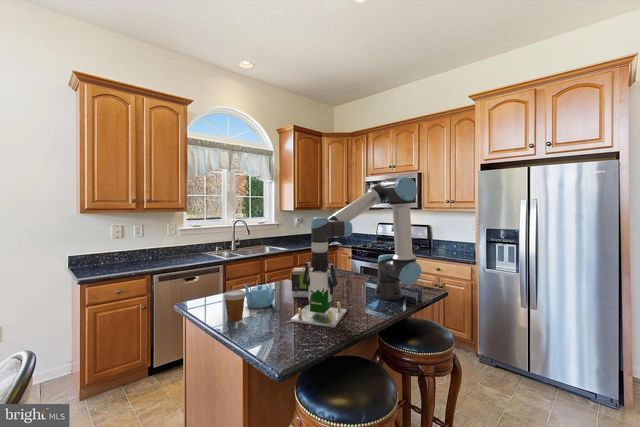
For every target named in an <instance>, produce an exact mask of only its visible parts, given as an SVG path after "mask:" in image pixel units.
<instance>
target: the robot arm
mask: <svg viewBox="0 0 640 427" xmlns="http://www.w3.org/2000/svg"><path fill="white" fill-rule="evenodd" d="M417 193H418V187H417V184H416V183H415V181H414V180H413V179H412V178H410V177H408V176H399V177H389V178H385V179H383V180H381V181H379V182H378V183H377V184H375V185H373V186H371V187H370V188H369V189H367V192H366V193H365V194H363V195H361V196H360V197H359V198H357V199H355V200H353V201H352V202H350V203H349V204H347V205H346V206H345V207H343V208H341V209H340V210H339V211H336V213H334V214H332V215H330V216H329V217H327V216H313V217H312V218H311V223H310V224H311V225H310V229H311V234H310V235H311V244H310V245H311V262H309V261H308V262H305V263H304V268H305V273H304V278H303V284H305V285H306V286H307V292H308V297H307V298H308V301H309V300H310V277H309V279H308V274H309V268H313V270H312V272H315V271H317V272H319V271H322V272H325V273H326V272H327V271H328V270H330V277H328V284H329V288H328V302H330V303H331V302H332V295H333V294H334V288H335V287H337V286H338V280H337V274H336V270H335V266H336V264H335V263H330V262H329V252H328V250H329V238H348V237H350V236H352V234H353V224H352V222H351V221H353V220H354V219H356V218H357V217H359V216H361V215H363V213H364V212H366V211H367V210H369V209H371V208H372V207H374V206H375V205H376V206H378V205H380V204H382V203H384V202H388V205H389V206H390V207H391V208H392V221H393V239H394V240H393V241H394V254H392V253H391V254H381V255H379V256H378V258H377V283H376V286H375V289H374V296H375V297H376V298H379V299H381V300H389V301H391V300H392V301H394V300H400V299H402V298H403V290H402V287H401V284H404V285H413V284H416V283H417V281H418V280H419V279H420V278H421V275H422V268H421V266H420V264H419V263H418V262H417V256H416V255H415V254H413V242H412V240H413V239H412V223H411V206H412V205H413V203H414V199H415V198H416V196H417ZM328 268H329V269H328ZM307 279H308V281H307Z"/></svg>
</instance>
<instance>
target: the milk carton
mask: <svg viewBox="0 0 640 427" xmlns="http://www.w3.org/2000/svg"><path fill="white" fill-rule="evenodd" d="M327 270H328V271H327V272H326V273H325V272H322V271H319V272H317V271H315V272H312V271H311V272H309V276H310V312H318V313H325V312H326V311H328V310H329V309H330V307H331V302H328V288H329V284H328V277H330V278H331V271H330V269H327Z"/></svg>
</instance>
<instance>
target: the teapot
mask: <svg viewBox="0 0 640 427" xmlns="http://www.w3.org/2000/svg"><path fill="white" fill-rule="evenodd" d="M243 286H244V288H245V290H244V292H245V294H246V296H245V298H246V302H245V303H246V305H247V306H248V307H249V308H250V309H256V310H257V309H259V310H260V309H265V308H269V307H270V306H271V305H272V304H273V302H274V301H275V300H274V299H275V292H276V291H277V289H278V288H277V287H275V288H272V290H271V292H270V289H269V286H265V285H264V286H263V285H262V284H258V285H257V286H256V287H255V286H254V287H253V288H251V290H249V286H248V285H247V284H246V283H243Z"/></svg>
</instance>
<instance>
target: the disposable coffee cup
mask: <svg viewBox="0 0 640 427" xmlns="http://www.w3.org/2000/svg"><path fill="white" fill-rule="evenodd" d="M223 298H224V302H225V309H226V310H225V311H226V316H227V321H228V320H230V321H229V322H231V321H235V322H239V321H238V320H240V321H242V320H243V315H244V314H243V313H244V307H245V298H246V294H245V290H241V289H233V290H232V289H231V290H227V291H225V292H224V295H223ZM241 319H242V320H241Z"/></svg>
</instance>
